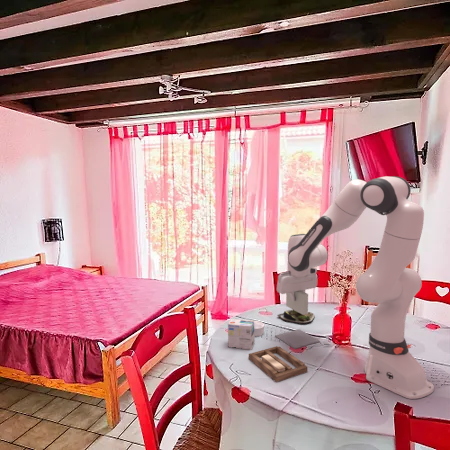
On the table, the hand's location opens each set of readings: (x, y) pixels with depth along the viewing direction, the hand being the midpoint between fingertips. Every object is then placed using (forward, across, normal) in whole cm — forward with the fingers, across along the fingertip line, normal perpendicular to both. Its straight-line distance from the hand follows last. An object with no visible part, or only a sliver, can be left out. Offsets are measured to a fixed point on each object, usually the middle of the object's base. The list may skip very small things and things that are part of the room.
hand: (297, 300), depth 151 cm
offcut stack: (+18, -24, -16) cm, 34 cm away
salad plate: (+19, +16, +19) cm, 32 cm away
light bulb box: (+19, -25, +6) cm, 32 cm away
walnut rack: (+18, -22, -14) cm, 32 cm away
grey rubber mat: (+18, 0, -1) cm, 18 cm away
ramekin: (+19, -13, +14) cm, 27 cm away
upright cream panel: (+5, 0, 0) cm, 5 cm away
